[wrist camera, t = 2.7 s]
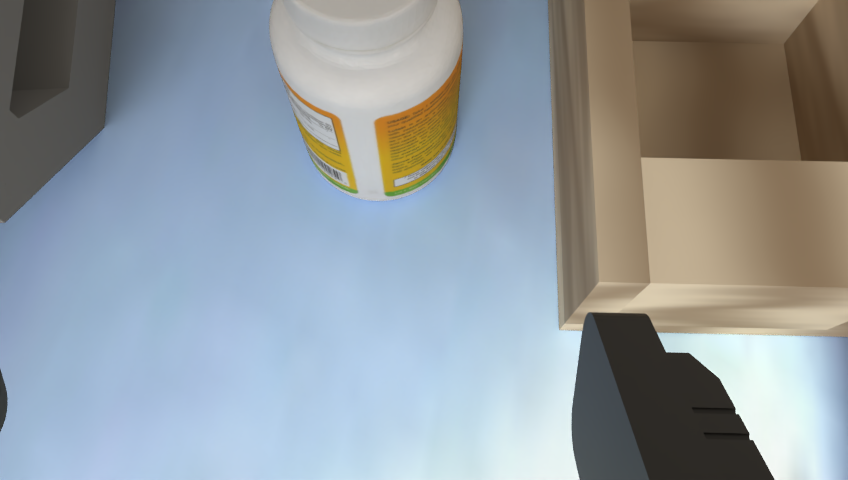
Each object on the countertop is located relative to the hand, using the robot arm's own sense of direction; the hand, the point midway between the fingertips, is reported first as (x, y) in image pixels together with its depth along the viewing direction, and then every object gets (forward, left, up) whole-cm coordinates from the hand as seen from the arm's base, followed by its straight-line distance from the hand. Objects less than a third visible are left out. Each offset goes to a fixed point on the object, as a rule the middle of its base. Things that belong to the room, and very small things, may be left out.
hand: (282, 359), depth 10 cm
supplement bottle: (0, +10, -15) cm, 18 cm away
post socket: (+11, +10, -14) cm, 21 cm away
